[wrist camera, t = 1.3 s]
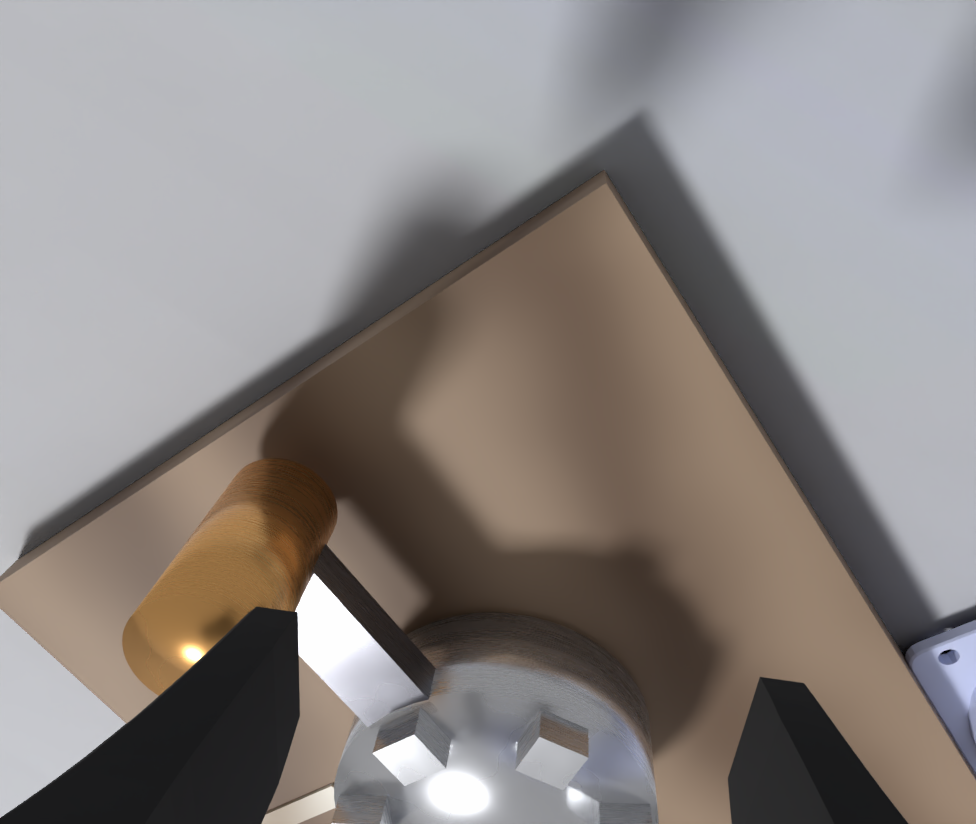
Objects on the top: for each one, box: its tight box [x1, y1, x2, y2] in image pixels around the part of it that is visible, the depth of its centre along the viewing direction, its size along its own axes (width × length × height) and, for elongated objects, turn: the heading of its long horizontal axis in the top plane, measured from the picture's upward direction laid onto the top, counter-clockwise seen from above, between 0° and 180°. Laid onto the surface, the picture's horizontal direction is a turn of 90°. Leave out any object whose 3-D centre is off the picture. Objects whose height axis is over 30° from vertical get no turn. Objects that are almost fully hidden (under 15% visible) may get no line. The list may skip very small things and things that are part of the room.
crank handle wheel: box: [122, 458, 659, 824], centre depth 19 cm, size 14×8×6 cm, turn 35°
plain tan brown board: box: [0, 170, 976, 824], centre depth 24 cm, size 21×22×2 cm
